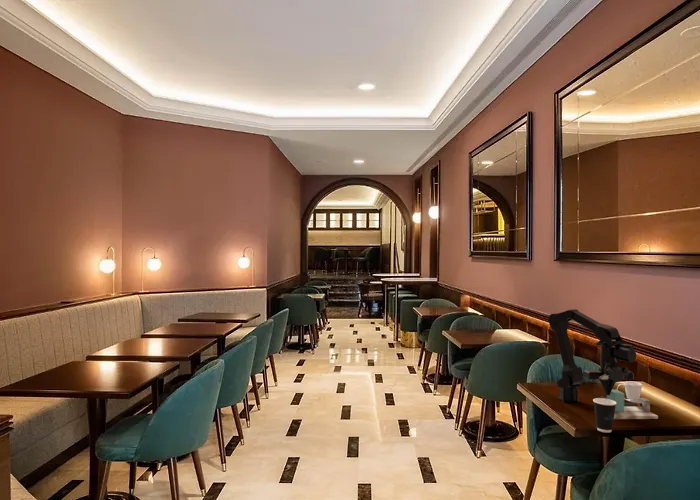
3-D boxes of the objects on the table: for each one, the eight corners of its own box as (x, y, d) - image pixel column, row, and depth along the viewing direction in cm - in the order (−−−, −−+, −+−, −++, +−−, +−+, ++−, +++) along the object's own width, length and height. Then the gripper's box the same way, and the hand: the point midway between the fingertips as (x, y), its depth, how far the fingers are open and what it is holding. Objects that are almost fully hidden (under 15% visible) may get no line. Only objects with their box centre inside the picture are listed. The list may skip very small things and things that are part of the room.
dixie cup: (611, 435, 183) (611, 405, 183) (589, 429, 189) (589, 400, 189) (619, 430, 188) (620, 401, 188) (597, 424, 194) (598, 396, 194)
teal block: (614, 411, 205) (614, 393, 205) (606, 407, 211) (607, 389, 211) (624, 411, 206) (624, 393, 206) (616, 407, 211) (616, 389, 211)
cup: (642, 404, 221) (642, 386, 221) (616, 400, 225) (616, 383, 225) (641, 400, 227) (641, 382, 227) (616, 396, 232) (616, 379, 232)
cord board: (614, 419, 201) (614, 404, 201) (595, 407, 215) (595, 393, 215) (657, 418, 202) (658, 403, 202) (636, 407, 216) (636, 393, 216)
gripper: (596, 362, 200) (596, 401, 200) (642, 362, 200) (641, 401, 200) (582, 355, 211) (582, 393, 211) (625, 356, 211) (625, 392, 212)
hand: (607, 395), depth 208 cm, fingers closed
